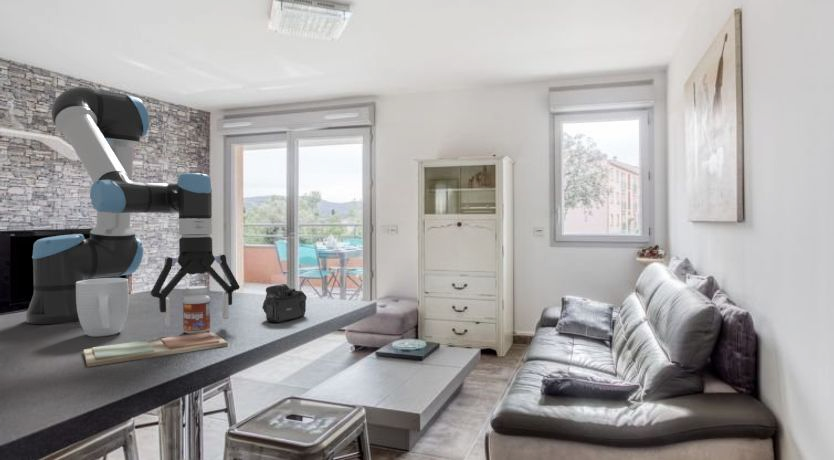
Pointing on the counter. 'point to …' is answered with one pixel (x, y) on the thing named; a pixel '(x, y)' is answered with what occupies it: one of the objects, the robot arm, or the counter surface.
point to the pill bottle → (196, 310)
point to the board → (151, 348)
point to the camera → (283, 303)
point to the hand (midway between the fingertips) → (197, 321)
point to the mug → (102, 305)
